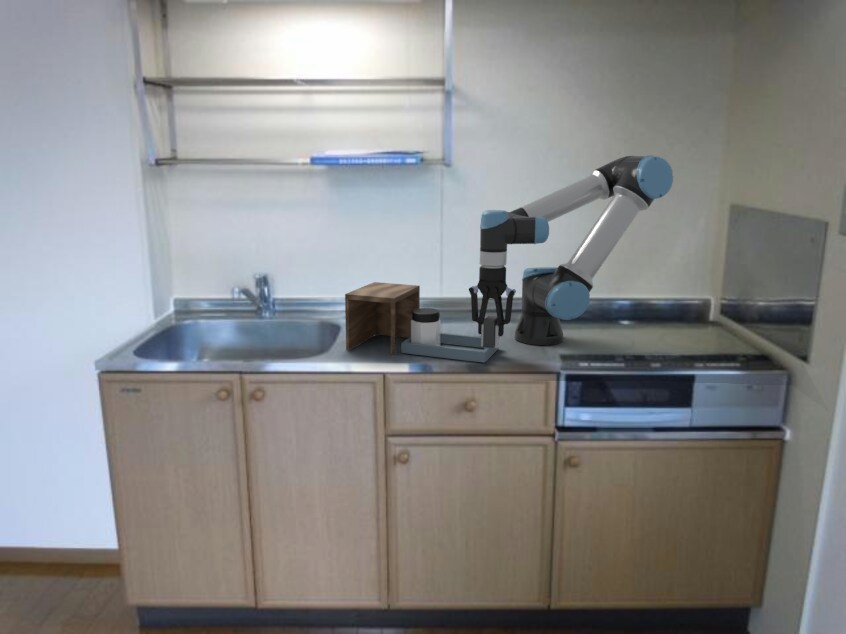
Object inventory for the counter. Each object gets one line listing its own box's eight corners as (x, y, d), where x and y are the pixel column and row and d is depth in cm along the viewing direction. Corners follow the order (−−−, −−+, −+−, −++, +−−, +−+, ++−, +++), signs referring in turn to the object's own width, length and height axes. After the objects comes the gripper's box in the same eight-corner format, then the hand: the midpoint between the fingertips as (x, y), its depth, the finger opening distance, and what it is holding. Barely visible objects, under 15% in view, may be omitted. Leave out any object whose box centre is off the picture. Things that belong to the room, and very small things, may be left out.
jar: (434, 355, 195) (434, 315, 192) (407, 352, 198) (408, 313, 195) (443, 347, 203) (443, 308, 201) (417, 344, 206) (417, 306, 203)
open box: (419, 338, 213) (419, 285, 209) (393, 355, 195) (393, 298, 191) (375, 333, 219) (374, 282, 215) (346, 349, 200) (345, 294, 196)
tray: (501, 348, 201) (502, 312, 199) (487, 363, 187) (489, 324, 185) (420, 339, 210) (420, 305, 208) (401, 352, 196) (401, 316, 194)
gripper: (524, 265, 189) (521, 345, 195) (468, 262, 195) (467, 339, 201) (518, 269, 182) (515, 352, 188) (460, 266, 188) (459, 346, 194)
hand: (490, 345), depth 194 cm, fingers open, 3 cm apart
